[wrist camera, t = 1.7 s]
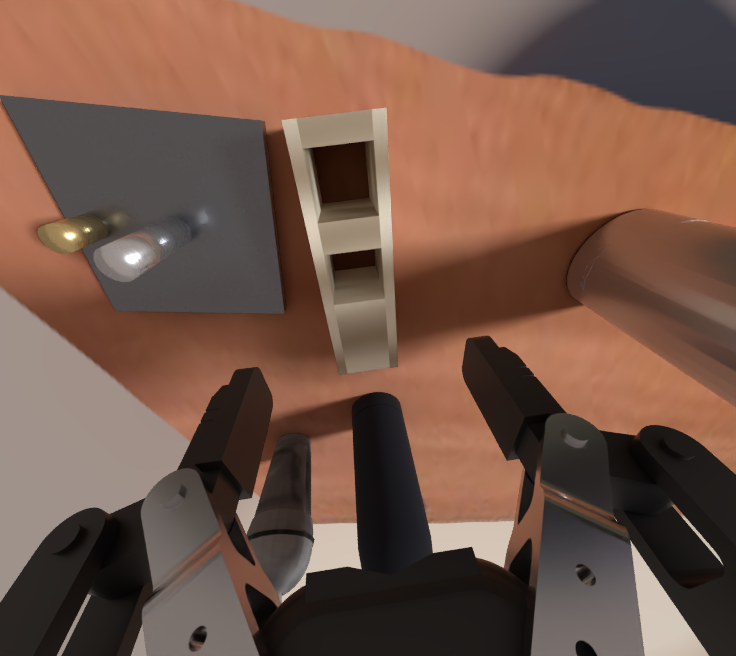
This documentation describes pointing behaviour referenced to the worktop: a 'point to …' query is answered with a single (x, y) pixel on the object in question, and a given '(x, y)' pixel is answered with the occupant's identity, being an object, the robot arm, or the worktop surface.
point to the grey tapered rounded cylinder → (285, 515)
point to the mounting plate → (160, 204)
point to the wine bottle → (386, 488)
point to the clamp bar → (350, 238)
